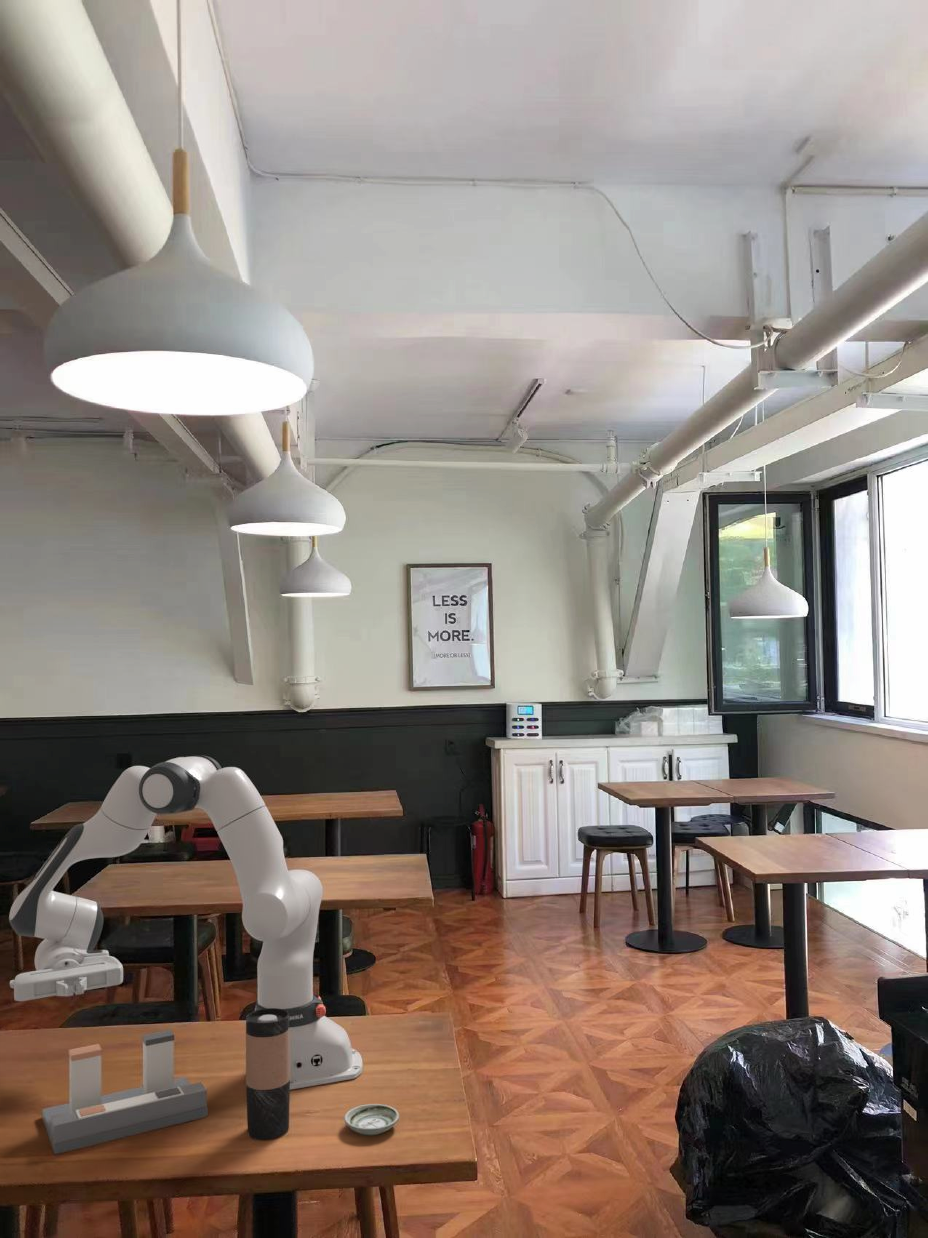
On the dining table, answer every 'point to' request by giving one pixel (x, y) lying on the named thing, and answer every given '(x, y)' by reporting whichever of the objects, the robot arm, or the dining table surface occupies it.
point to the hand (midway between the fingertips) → (74, 991)
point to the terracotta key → (84, 1077)
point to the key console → (124, 1115)
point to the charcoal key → (158, 1061)
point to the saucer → (371, 1118)
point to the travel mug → (267, 1073)
